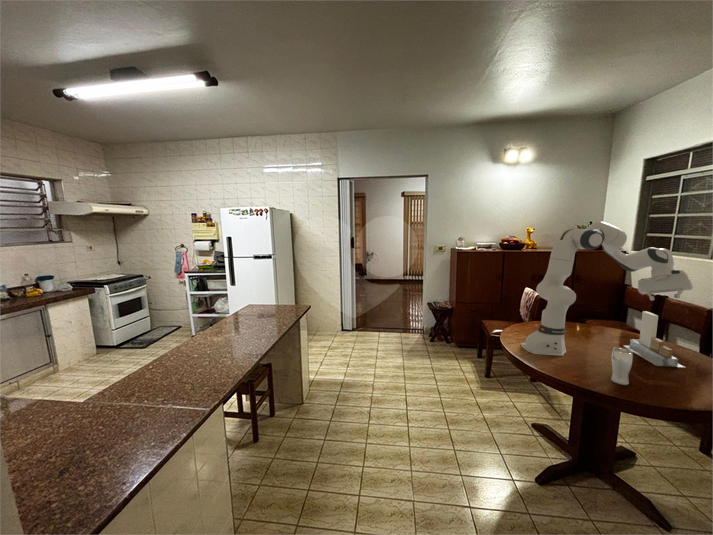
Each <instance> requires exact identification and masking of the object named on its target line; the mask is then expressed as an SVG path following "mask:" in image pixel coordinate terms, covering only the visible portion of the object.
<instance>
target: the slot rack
mask: <svg viewBox="0 0 713 535" xmlns="http://www.w3.org/2000/svg"><path fill="white" fill-rule="evenodd" d="M639 340H640V339H634V338H632V339H631V338H630V339H629V345H622V346H623V348H625V349H628V350H630V351H632V352H633V353H634V354H636V355H638V356H639V357H641V358H642V359H644V360H646V361H648V362H649V363H651V364H652V365H654V366H656V367H659V366H660V367H670V368H671V367H673V368H683V369H684V368H685V369H686V366H685V365H682V364H680V363H679V358H677V357H675V356H673V355H672V358H666V357H664V356H663V355H661V354H659V353H657V352H655V351H653V350H652V349H650V348H648V347H646V346H644V345H642V344H640V343H639Z"/></svg>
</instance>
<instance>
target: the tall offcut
mask: <svg viewBox="0 0 713 535" xmlns="http://www.w3.org/2000/svg"><path fill="white" fill-rule="evenodd" d="M660 346H665V341H664V340H663V339H660V338H657V337H656V338H652V342H651V349H652V350H653V351H655V352H657V353H659V347H660Z"/></svg>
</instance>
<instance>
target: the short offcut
mask: <svg viewBox="0 0 713 535" xmlns="http://www.w3.org/2000/svg"><path fill="white" fill-rule="evenodd" d="M659 354H661V355H663V356H664V357H666V358H672V356H673V349H672V348H670V347H667V346H666V345H664V346H660V347H659Z"/></svg>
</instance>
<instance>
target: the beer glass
mask: <svg viewBox="0 0 713 535" xmlns="http://www.w3.org/2000/svg"><path fill="white" fill-rule="evenodd" d="M633 353H634V352H633V351H631V350H629V349H628V348H626V347H617V346H616V347H613V348H612V353H611V368H612V374H611V378H610V380H611V381H612V382H613V383H615V384H618V385H623V386H628V385H629V384H630V382H629V381H630V380H629V375H630V371H631V369H632V366H633V360H634V359H633V357H634V355H633Z"/></svg>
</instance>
